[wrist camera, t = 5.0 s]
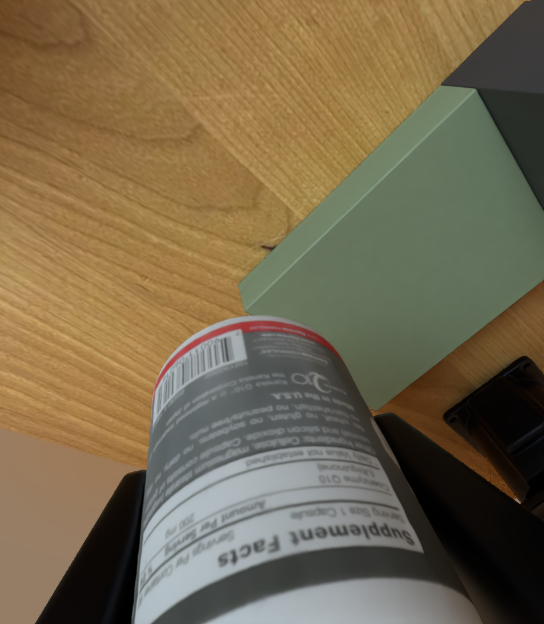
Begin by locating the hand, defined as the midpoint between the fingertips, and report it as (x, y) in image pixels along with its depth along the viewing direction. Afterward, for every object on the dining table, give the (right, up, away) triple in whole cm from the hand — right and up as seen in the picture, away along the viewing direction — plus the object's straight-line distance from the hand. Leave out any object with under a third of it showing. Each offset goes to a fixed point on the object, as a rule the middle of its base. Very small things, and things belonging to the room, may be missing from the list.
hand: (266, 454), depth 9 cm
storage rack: (+8, +7, +12) cm, 16 cm away
